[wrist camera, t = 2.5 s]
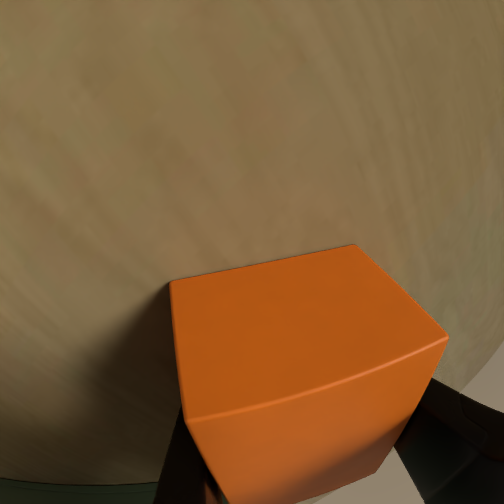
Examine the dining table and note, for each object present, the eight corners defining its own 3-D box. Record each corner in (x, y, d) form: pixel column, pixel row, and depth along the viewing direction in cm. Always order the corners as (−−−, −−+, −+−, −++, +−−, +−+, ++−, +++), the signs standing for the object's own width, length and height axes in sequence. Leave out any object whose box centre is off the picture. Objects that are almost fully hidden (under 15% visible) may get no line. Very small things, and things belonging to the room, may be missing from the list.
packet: (355, 242, 9) (452, 335, 5) (333, 394, 12) (376, 472, 9) (168, 280, 8) (183, 422, 4) (212, 427, 11) (236, 518, 8)
